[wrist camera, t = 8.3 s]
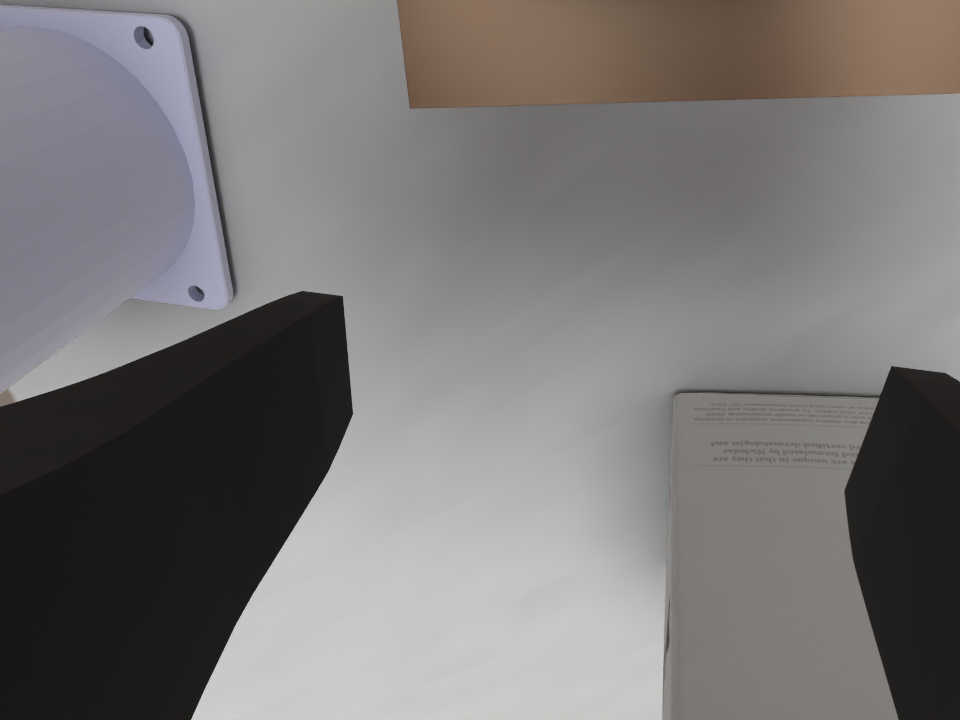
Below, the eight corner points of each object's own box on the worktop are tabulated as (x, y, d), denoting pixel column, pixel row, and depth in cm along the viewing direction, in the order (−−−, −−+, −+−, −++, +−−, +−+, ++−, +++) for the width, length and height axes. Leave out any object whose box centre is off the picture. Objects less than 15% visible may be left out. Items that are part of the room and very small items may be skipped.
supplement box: (668, 384, 21) (661, 885, 10) (968, 394, 19) (1330, 1013, 8) (662, 572, 24) (653, 1078, 14) (911, 595, 23) (1114, 1194, 12)
